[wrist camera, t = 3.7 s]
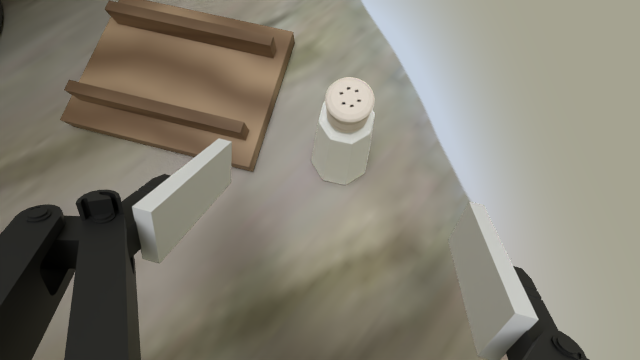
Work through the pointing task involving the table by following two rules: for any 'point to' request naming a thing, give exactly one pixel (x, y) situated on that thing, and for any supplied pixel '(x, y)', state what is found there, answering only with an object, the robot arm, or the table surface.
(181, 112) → the rack
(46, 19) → the table surface
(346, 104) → the pepper shaker
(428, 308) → the table surface
